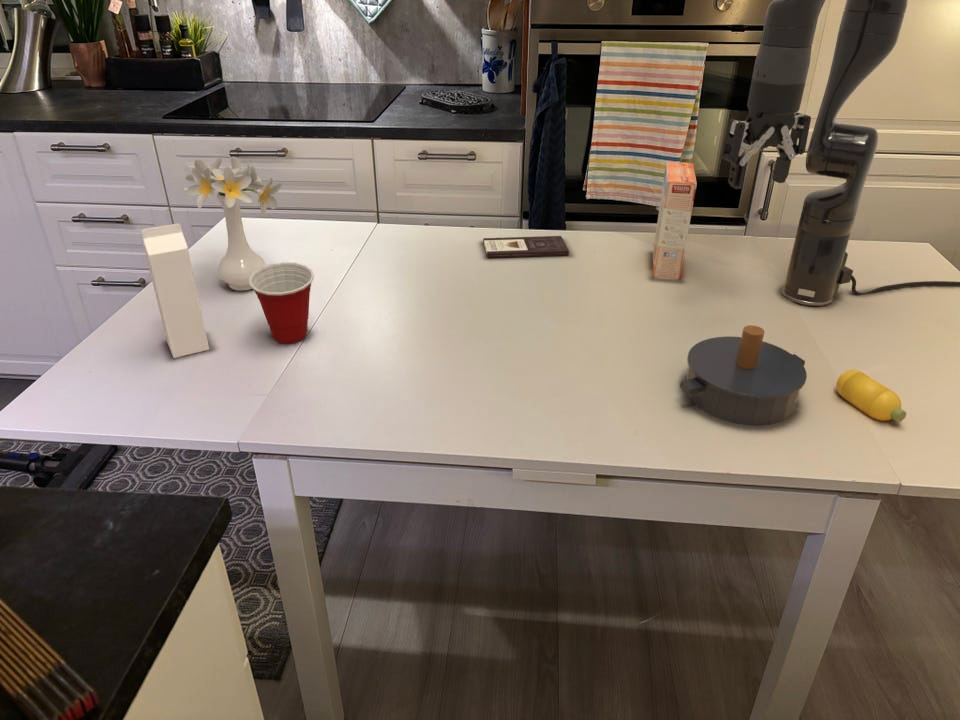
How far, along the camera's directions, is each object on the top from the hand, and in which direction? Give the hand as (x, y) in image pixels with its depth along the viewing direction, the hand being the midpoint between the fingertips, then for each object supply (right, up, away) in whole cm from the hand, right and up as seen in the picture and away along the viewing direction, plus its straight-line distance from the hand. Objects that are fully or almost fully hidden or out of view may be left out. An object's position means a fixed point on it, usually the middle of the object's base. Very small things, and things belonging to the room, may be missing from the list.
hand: (757, 184), depth 117 cm
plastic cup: (-78, -24, +14) cm, 83 cm away
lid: (-3, -29, -4) cm, 29 cm away
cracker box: (-4, -8, +41) cm, 42 cm away
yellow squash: (+15, -35, -4) cm, 39 cm away
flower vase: (-91, -13, +33) cm, 97 cm away
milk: (-95, -26, +11) cm, 99 cm away
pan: (-3, -34, -1) cm, 34 cm away
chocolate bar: (-34, -3, +49) cm, 60 cm away
